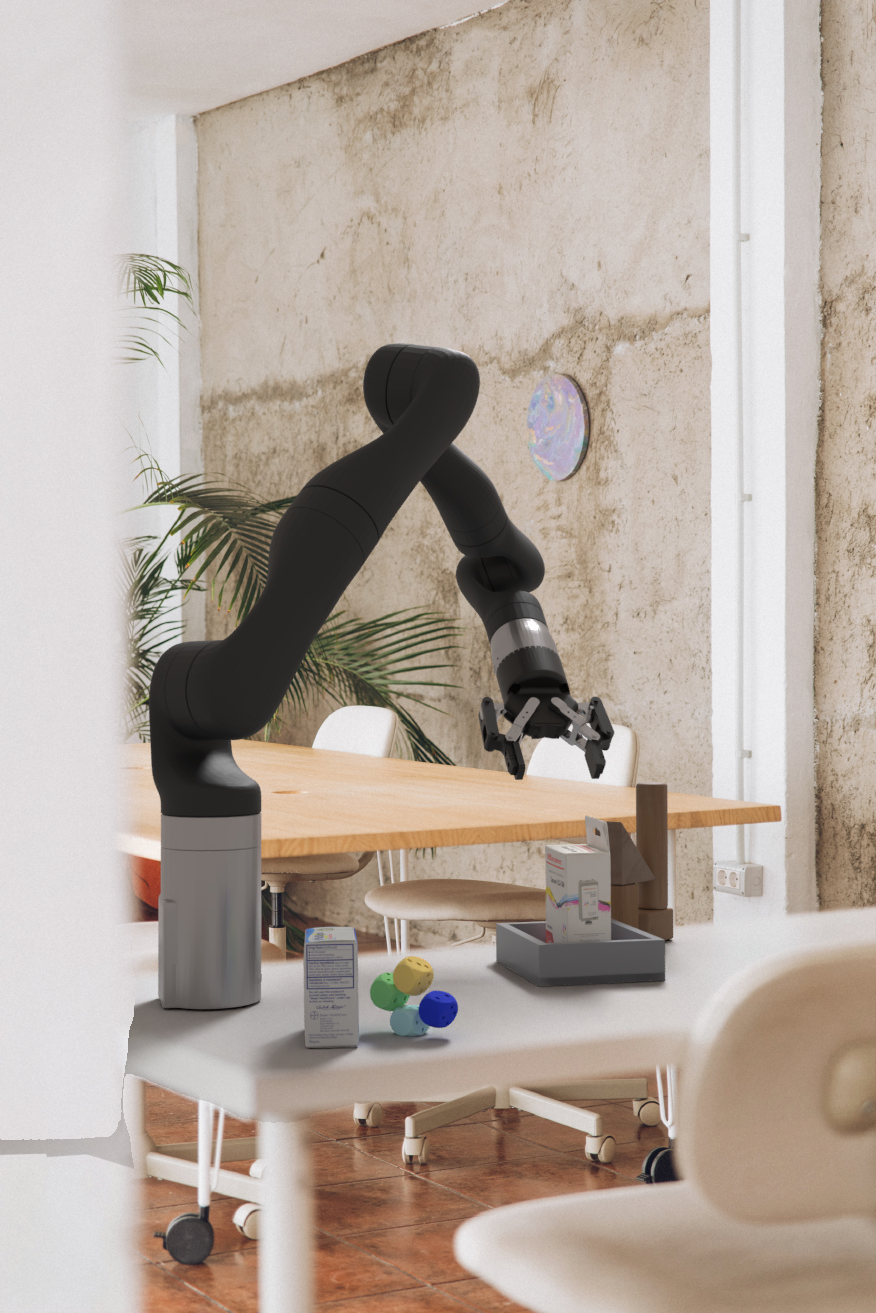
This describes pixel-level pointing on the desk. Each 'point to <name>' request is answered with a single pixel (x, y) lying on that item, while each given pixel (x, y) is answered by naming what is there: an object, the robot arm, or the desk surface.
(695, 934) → the desk surface
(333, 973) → the medicine box
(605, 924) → the ink cartridge box
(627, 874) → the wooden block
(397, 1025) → the dice
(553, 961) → the box
